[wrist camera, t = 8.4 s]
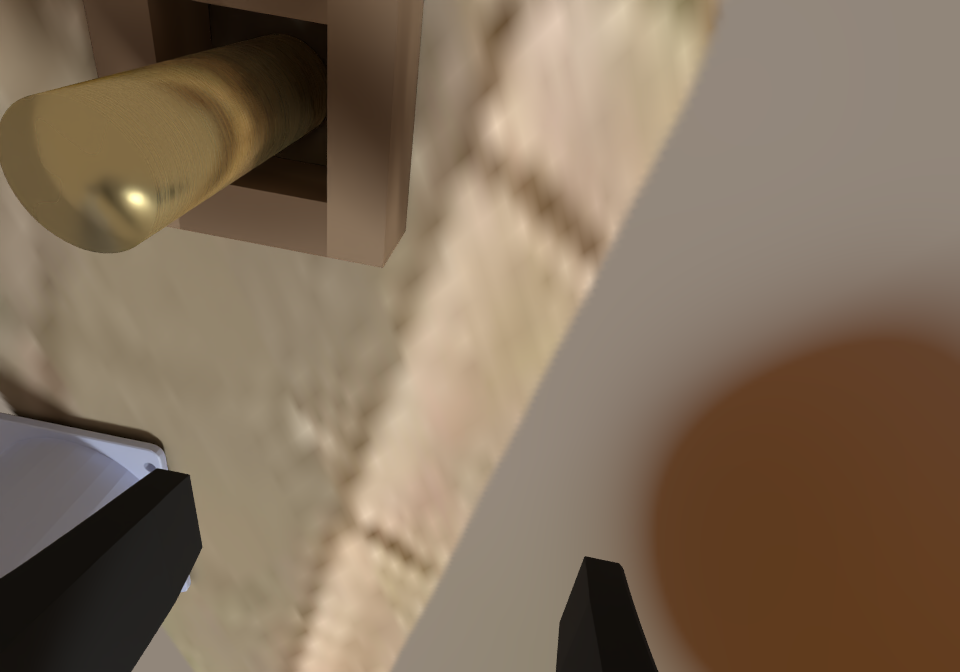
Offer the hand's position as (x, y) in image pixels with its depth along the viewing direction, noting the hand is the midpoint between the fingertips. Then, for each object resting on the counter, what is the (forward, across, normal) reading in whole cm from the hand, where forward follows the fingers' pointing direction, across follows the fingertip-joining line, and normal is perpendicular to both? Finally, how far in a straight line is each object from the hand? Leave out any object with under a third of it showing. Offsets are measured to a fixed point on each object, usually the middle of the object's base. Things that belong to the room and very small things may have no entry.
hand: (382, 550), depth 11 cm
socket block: (+9, +6, -6) cm, 12 cm away
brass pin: (+9, +6, -6) cm, 12 cm away
